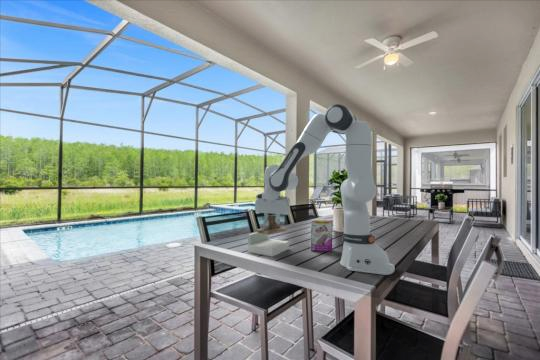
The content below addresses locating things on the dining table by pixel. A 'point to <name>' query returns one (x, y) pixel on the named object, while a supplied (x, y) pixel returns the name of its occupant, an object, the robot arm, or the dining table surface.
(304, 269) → the dining table surface
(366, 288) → the dining table surface
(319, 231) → the candy bar box
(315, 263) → the dining table surface
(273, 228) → the brown upright block stand
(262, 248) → the white l-shaped block
